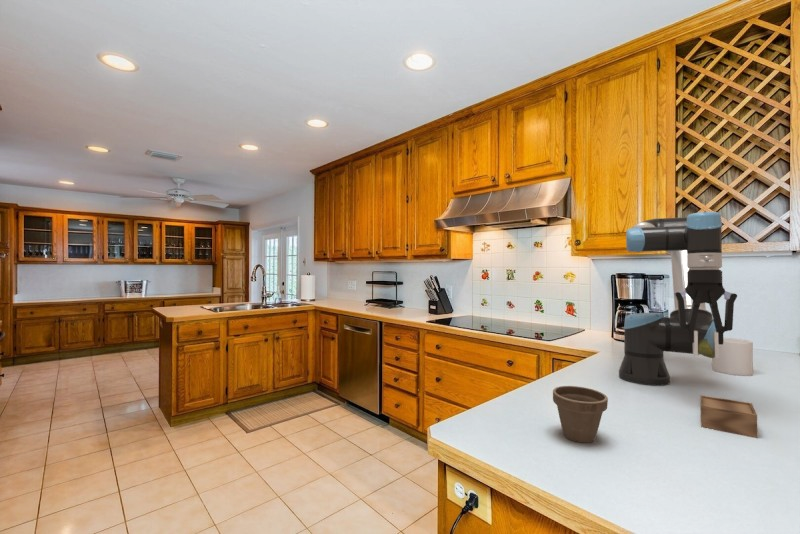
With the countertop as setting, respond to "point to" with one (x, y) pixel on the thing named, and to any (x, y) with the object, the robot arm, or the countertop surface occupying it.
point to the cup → (734, 357)
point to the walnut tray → (728, 416)
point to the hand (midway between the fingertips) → (705, 355)
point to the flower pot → (579, 411)
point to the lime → (705, 348)
